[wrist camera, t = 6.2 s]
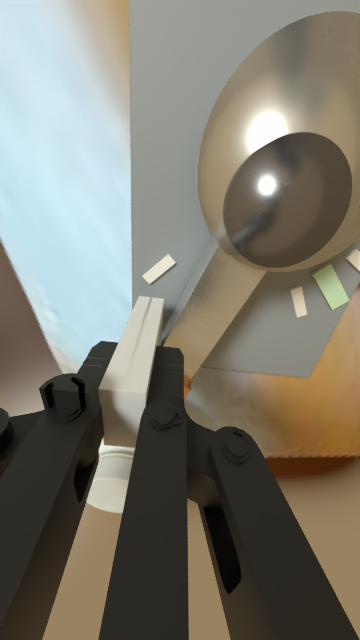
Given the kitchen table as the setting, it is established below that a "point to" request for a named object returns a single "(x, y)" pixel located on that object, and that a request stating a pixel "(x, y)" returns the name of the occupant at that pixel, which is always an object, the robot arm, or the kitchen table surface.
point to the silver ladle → (274, 174)
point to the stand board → (180, 190)
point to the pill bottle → (111, 478)
